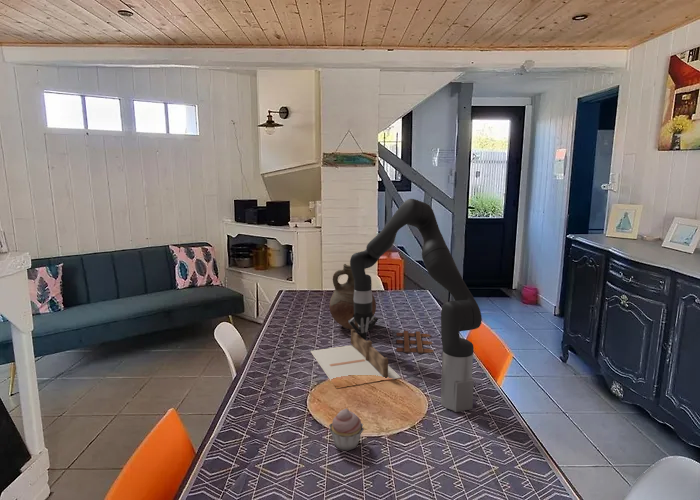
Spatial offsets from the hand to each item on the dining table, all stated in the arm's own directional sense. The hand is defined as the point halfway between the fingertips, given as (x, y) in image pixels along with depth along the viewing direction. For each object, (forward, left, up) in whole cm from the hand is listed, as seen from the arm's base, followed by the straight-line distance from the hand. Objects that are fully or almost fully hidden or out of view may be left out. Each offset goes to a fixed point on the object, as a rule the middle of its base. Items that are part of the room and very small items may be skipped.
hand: (363, 340), depth 185 cm
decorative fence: (-2, -22, -4) cm, 23 cm away
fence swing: (-3, +3, -2) cm, 5 cm away
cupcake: (-60, +29, -3) cm, 67 cm away
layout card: (-13, +10, -3) cm, 17 cm away
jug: (+25, -4, -3) cm, 25 cm away
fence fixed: (-20, +3, -3) cm, 20 cm away
